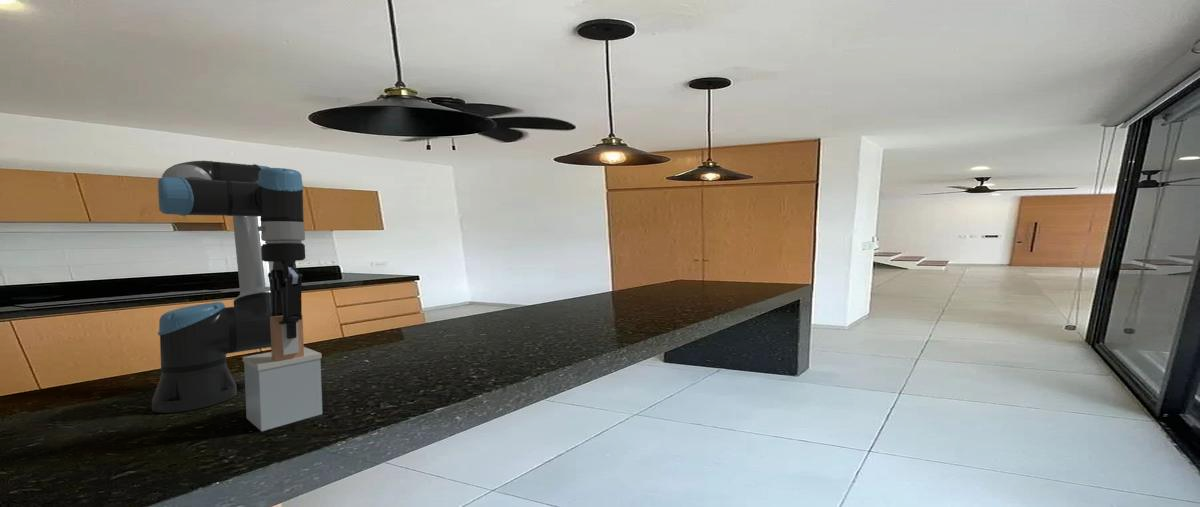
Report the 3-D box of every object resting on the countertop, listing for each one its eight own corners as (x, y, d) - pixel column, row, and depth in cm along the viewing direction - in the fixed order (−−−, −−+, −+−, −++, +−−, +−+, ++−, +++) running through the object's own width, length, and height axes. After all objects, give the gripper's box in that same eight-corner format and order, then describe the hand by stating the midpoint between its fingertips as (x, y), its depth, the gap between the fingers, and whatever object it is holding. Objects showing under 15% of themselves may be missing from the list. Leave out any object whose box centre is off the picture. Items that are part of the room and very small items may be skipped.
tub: (246, 418, 95) (244, 361, 95) (304, 403, 104) (302, 350, 103) (261, 431, 88) (259, 370, 88) (322, 413, 97) (320, 358, 97)
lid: (242, 361, 95) (240, 315, 94) (303, 350, 104) (301, 308, 103) (258, 370, 88) (255, 321, 87) (321, 357, 97) (320, 313, 96)
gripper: (250, 243, 95) (255, 350, 95) (274, 242, 85) (278, 362, 85) (291, 242, 101) (295, 343, 101) (317, 241, 91) (321, 354, 91)
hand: (287, 352), depth 93 cm, fingers closed on lid, 3 cm apart
